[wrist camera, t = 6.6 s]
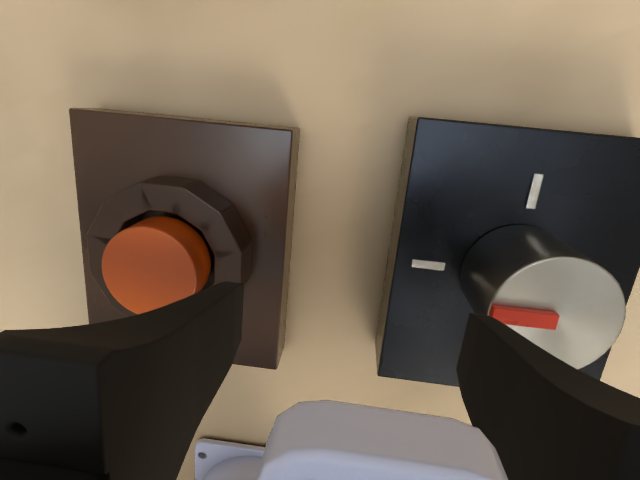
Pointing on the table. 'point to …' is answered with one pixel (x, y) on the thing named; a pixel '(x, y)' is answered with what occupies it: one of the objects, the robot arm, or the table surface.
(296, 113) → the table surface
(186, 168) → the button box
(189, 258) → the button
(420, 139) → the panel
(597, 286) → the dial
